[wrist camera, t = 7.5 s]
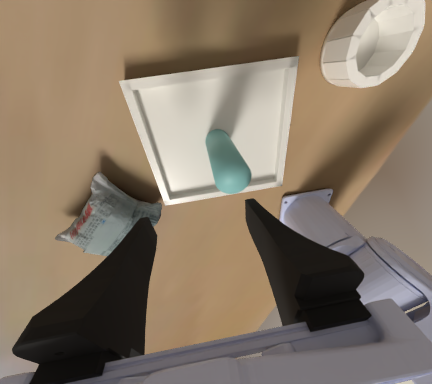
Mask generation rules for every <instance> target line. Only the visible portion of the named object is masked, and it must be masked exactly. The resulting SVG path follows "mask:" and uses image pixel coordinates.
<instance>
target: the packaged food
mask: <svg viewBox="0 0 432 384" xmlns="http://www.w3.org/2000/svg"><path fill="white" fill-rule="evenodd" d="M91 190H92V195H91V197H90V198H89V200H88V201H87V203H86V205H85V206H84V208H83V210H82V212H81V215H80V217H78V218H77V219H75V221H74V222H73V223H72V225H71V226H70V227H69V228H68V229H67V230H65V231H63V232H62V233H60V234H58V235H57V236H56V237H55V239H56V240H59V241H66V242H71V243H73V244H75V245H77V246H78V247H80V248H82V249H84V251H83V252H85V253H91V254H97V255H103V256H108V255H109V254H110V253H111V252H112V251H113V250H114V249H115V248H116V247H117V245H118V244H119V243H120V242H121V241H122V240H123V238H124V237H125V236H126V235H127V233H128V232H129V231H130V230H131V228H132V227H133V226H134V225H135V223H136V222H137V221H138V220H139V218H143V217H149V219H150V221H151V224H152V226H155V225H156V224H157V222H158V221H159V219H160V216H161V209H162V205H161V203H158V202H157V203H154V204H150V203H147V202H143V201H139V200H136V199H133V198H132V197H130V196H128V195H127V194H125V193H124V192H123V191H121V190H120V189H119V188H117V187H116V186H115V185H113V184H112V183H111V182H109V181H108V179H107V177H105V176H104V174H102V173H101V172H98V173H96V174H95V175H94V177H93V180H92V184H91ZM61 237H62V238H61Z"/></svg>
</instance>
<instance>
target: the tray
mask: <svg viewBox="0 0 432 384" xmlns="http://www.w3.org/2000/svg"><path fill="white" fill-rule="evenodd" d="M298 60H299V56H295V57H288V58H281V59H274V60H266V61H259V62H252V63H245V64H238V65H231V66H224V67H216V68H209V69H202V70H195V71H188V72H181V73H173V74H166V75H159V76H152V77H145V78H138V79H130V80H123V81H119V83H120V85H121V88H122V91H123V93H124V96H125V99H126V101H127V104H128V107H129V110H130V112H131V115H132V118H133V120H134V123H135V126H136V128H137V131H138V134H139V136H140V139H141V142H142V144H143V147H144V150H145V152H146V155H147V158H148V161H149V163H150V166H151V169H152V171H153V174H154V177H155V179H156V182H157V185H158V187H159V190H160V193H161V195H162V198H163V201H164V203H165V206H166V205H172V204H178V203H184V202H190V201H196V200H201V199H207V198H213V197H219V196H225V195H231V194H226V193H223V192H221V191H220V190H219V189H218V188H217V187H216V184H215V181H214V177H213V173H212V168H211V164H210V160H209V156H208V152H207V148H206V143H205V140H206V137H207V135H208V134H209V133H210V132H211V131H212V130H215V129H221V130H223V131H225V132H226V133H227V134H228V136H229V137H230V139H231V140H232V142H233V143H234V145H235V146H236V148H237V150H238V151H239V153H240V154H241V156H242V157H243V159H244V160H245V162H246V163H247V165H248V167H249V168H250V170H251V174H252V177H251V181H250V183H249V185H248V186H247V187H246V188H245V189H244V190H242V191H241V192H238V193H242V192H248V191H254V190H260V189H266V188H271V187H277V186H282V182H283V174H284V166H285V159H286V151H287V143H288V136H289V128H290V121H291V113H292V105H293V98H294V90H295V82H296V75H297V67H298ZM235 194H236V193H235Z"/></svg>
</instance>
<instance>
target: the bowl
mask: <svg viewBox="0 0 432 384" xmlns="http://www.w3.org/2000/svg"><path fill="white" fill-rule="evenodd" d="M424 1H425V0H367V1H364V2H362V3H360V4H358V5H356V6H355V7H353V8H351V9H350V10H348V11H347V12H345V13H344V14H343V15H342V16H341V17H339V19H338V20H337V21H336V22H335V23H334V25H333V26H332V27H331V29H330V30H329V32H328V34H327V36H326V38H325V40H324V43H323V46H322V49H321V54H320V70H321V73H322V76H323V77H324V79H325V80H326V81H327V82H328V83H330V84H333V85H336V86H343V87H355V88H365V87H371V86H377V85H379V84H381V83H382V82H383V81H385V80H386V79H388V78H389V77H391V76H392V75H394V74H395V73H396V72H397V71H398V70H399V69H400V67H401V66H402V65H403V64H404V62H405V61H406V60H407V59H408V57H409V56H410V55H411V54H412V53H413V52H412V51H414V49H415V46H416V44H417V42H418V39H419V37H420V35H421V32H422V30H423V28H424V26H423V25H425V2H424ZM422 26H423V27H422Z"/></svg>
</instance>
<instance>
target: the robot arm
mask: <svg viewBox="0 0 432 384" xmlns="http://www.w3.org/2000/svg"><path fill="white" fill-rule="evenodd" d="M332 193H333V190H332V189H331V188H329V189H323V190H317V191H311V192H306V193H300V194H294V195H288V196H284V197H283V198H282V204H281V211H280V218H279V220H278V219H277V218H275V217H274V216H273V215H272V214H270V213H269V212H268V211H267V210H266V209H265V208H263V207H262V206H261V205H260V204H259V203H258V202H257V201H256V200H255V199H254V198H253V199H247V200H245V209H246V222H247V226H248V229H249V232H250V234H251V236H252V239H253V241H254V243H255V245H256V247H257V250H258V252H259V254H260V256H261V259H262V261H263V264H264V267H265V270H266V273H267V276H268V279H269V282H270V285H271V288H272V291H273V294H274V298H275V301H276V304H277V308H278V311H279V314H280V318H281V321H282V325H283V326H282V327H277V328H272V329H268V330H262V331H257V332H253V333H248V334H243V335H238V336H233V337H228V338H223V339H219V340H214V341H209V342H204V343H199V344H194V345H190V346H185V347H180V348H175V349H170V350H165V351H160V352H156V353H151V354H146V355H144V351H145V325H146V309H147V298H148V288H149V281H150V276H151V271H152V266H153V262H154V257H155V252H156V245H157V234H156V232H155V230H154V228H153V226H152V224H151V221H150V219H149V217H143V218H139V220H138V221H137V222H136V223H135V225H134V226H133V227H132V228H131V230H130V231H129V232H128V233H127V235H126V236H125V237H124V238H123V240H122V241H121V242H120V243H119V244H118V245H117V247H116V248H115V249H114V250H113V251H112V252H111V253H110V254H109V255H108V256H107V258H106V259H105V260H104V261H103V262H101V263H100V264H99V265H98V266H97V267H96V268H95V269H94V270H93V271H92V272H91V273H90V274H88V275H87V276H86V277H85V278H84V279H83V280H82V281H80V282H79V283H78V284H77V285H76V286H74V287H73V288H72V289H71V290H69V291H68V292H67V293H65V294H64V295H63V296H61V297H60V298H59V299H57V300H56V301H55V302H53V303H52V304H50V305H49V306H48V307H46V308H45V309H43V310H42V311H40V312H39V313H38V314H36V315H35V316H33V317H32V319H31V320H30V322H29V323H28V325H27V326H26V328H25V330H24V331H23V333H22V334H21V336H20V337H19V339H18V340H17V342H16V344H15V345H14V347H13V348H12V352H13V354H14V355H15V356H17V357H20V358H22V359H26V360H29V361H32V362H35V363H38V364H39V366H38V368H37V370H36V372H28V373H22V374H17V375H12V376H7V377H3V378H2V379H0V384H395V383H399V382H404V381H408V380H412V381H413V382H414V384H432V276H431V275H430V274H429V273H428V272H427V271H426V270H425V269H424V268H422V267H421V266H420V265H419V264H418V263H416V262H415V261H414V260H413V259H411V258H410V257H409V256H408V255H406V254H405V253H404V252H402V251H401V250H400V249H398V248H397V247H395V246H394V245H393V244H391V243H390V242H388V241H387V240H385V239H383V238H377V237H370V238H368V239H366V238H365V237H364V236H363V235H362V234H361V233H360V232H358V231H357V230H356V229H355V228H354V227H353V226H352V225H351V224H350V223H349V222H348V221H347V220H345V218H344V217H342V216H341V215H340V214H339V213H338V212H337V211H336V210H335V209H334V208H333V207H332V206H331V205H329V201H330V199H331V196H332ZM285 201H286V202H285ZM427 301H428V303H426V304H425V305H424V306H422V307H420V308H417V309H415V310H413V311H411V312H408V313H406V314H405V311H407V310H409V309H411V308H413V307H416V306H418V305H420V304H422V303H425V302H427ZM260 352H262V356H259V357H250V358H242V359H235V358H236V357H241V356H246V355H250V354H255V353H260Z"/></svg>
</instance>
